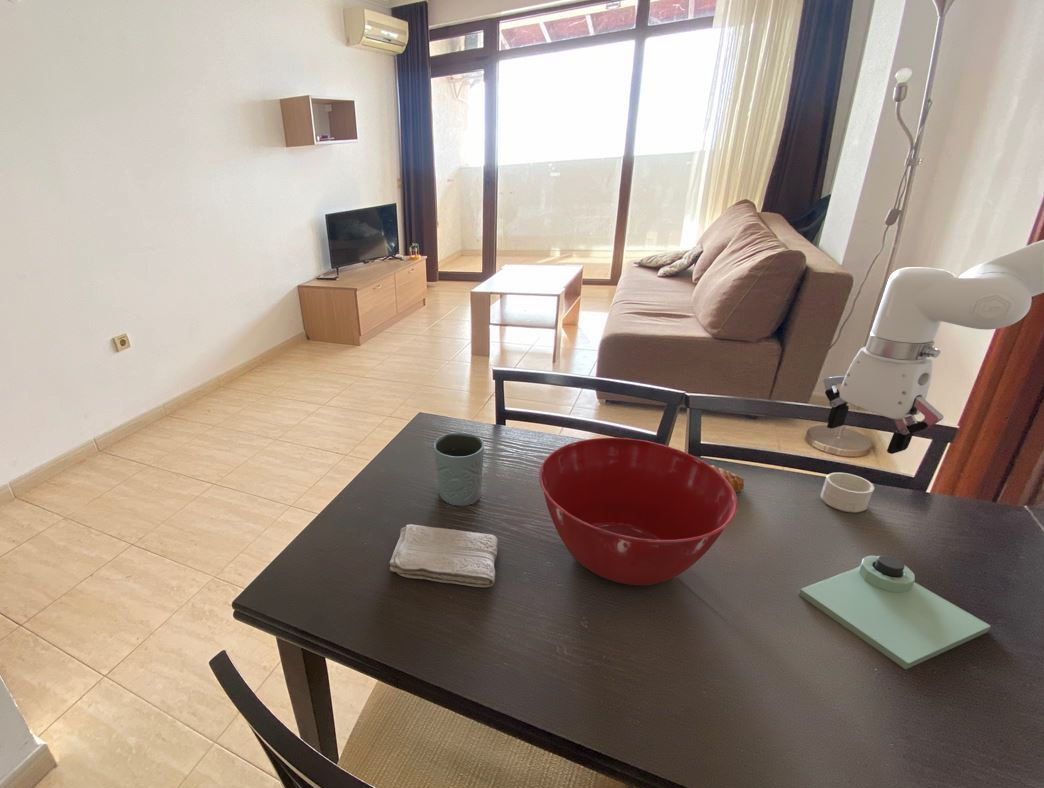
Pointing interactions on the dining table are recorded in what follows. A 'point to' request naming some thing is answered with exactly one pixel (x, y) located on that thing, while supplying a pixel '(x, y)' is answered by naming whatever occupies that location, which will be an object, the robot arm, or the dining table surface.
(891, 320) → the robot arm
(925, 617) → the scale
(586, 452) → the mixing bowl
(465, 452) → the grey green cup
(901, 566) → the button
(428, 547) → the washcloth
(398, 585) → the dining table surface
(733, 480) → the pastry
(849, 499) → the bowl
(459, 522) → the dining table surface
